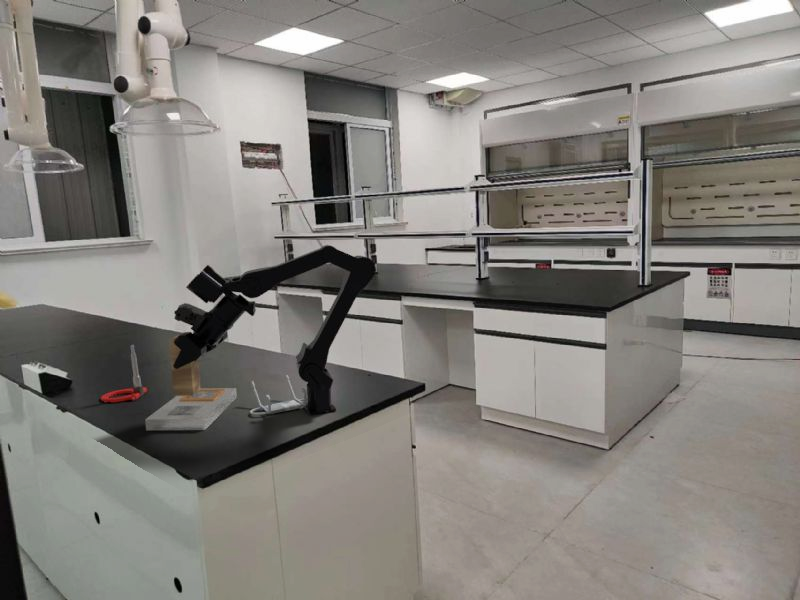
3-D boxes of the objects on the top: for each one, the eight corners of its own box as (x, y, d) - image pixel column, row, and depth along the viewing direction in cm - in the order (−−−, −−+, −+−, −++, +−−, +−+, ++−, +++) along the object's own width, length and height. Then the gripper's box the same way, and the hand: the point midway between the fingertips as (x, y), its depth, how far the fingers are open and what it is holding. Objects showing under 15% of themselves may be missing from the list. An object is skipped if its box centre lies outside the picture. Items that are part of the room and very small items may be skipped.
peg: (193, 395, 124) (188, 339, 122) (174, 395, 124) (168, 339, 122) (200, 389, 129) (195, 334, 127) (181, 389, 129) (177, 335, 127)
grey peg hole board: (204, 430, 120) (203, 417, 120) (146, 430, 121) (145, 418, 120) (236, 397, 142) (236, 386, 142) (186, 397, 142) (186, 387, 142)
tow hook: (95, 405, 139) (135, 402, 140) (87, 352, 137) (128, 348, 138) (110, 394, 148) (148, 391, 149) (103, 344, 146) (142, 341, 147)
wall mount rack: (256, 421, 125) (254, 396, 124) (239, 405, 136) (238, 382, 135) (320, 407, 133) (319, 384, 132) (299, 394, 144) (298, 372, 143)
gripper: (210, 286, 132) (169, 332, 134) (179, 297, 114) (131, 351, 116) (245, 317, 133) (204, 363, 135) (220, 334, 115) (172, 386, 117)
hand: (179, 364), depth 126 cm, fingers closed on peg, 4 cm apart
